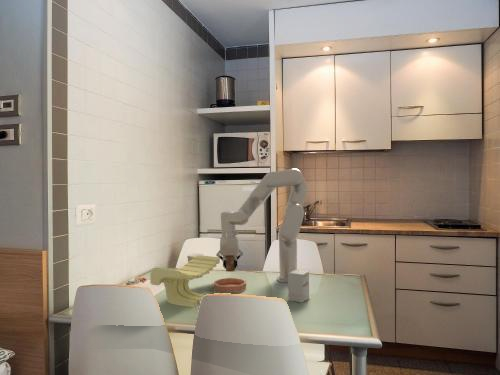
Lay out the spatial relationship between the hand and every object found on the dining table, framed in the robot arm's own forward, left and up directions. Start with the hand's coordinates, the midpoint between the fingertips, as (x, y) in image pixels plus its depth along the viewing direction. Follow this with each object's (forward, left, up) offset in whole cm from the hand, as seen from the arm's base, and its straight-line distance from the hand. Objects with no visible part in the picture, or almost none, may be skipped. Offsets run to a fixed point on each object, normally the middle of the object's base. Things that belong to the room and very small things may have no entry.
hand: (230, 267), depth 217 cm
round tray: (-1, +16, -7) cm, 18 cm away
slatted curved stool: (+17, +34, -7) cm, 39 cm away
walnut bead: (0, 0, -2) cm, 2 cm away
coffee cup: (+21, -11, -7) cm, 25 cm away
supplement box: (-34, +33, -7) cm, 48 cm away
